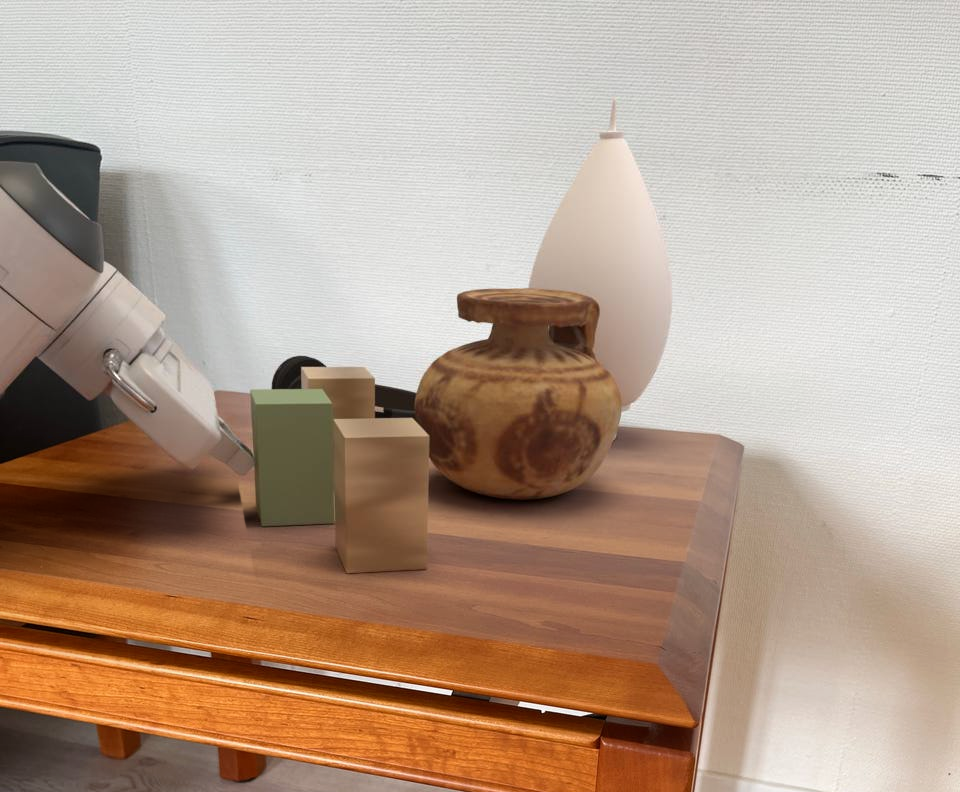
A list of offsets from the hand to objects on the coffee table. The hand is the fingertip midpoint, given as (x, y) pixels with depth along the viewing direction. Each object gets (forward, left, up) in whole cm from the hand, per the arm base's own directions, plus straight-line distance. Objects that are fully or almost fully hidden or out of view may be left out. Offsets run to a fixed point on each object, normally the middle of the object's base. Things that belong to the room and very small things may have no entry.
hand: (248, 465), depth 84 cm
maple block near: (+9, -12, -4) cm, 15 cm away
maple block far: (+9, +11, -4) cm, 15 cm away
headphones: (+15, +32, -5) cm, 36 cm away
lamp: (+40, +26, -5) cm, 48 cm away
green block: (+4, 0, -4) cm, 6 cm away
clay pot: (+25, +6, -5) cm, 26 cm away
